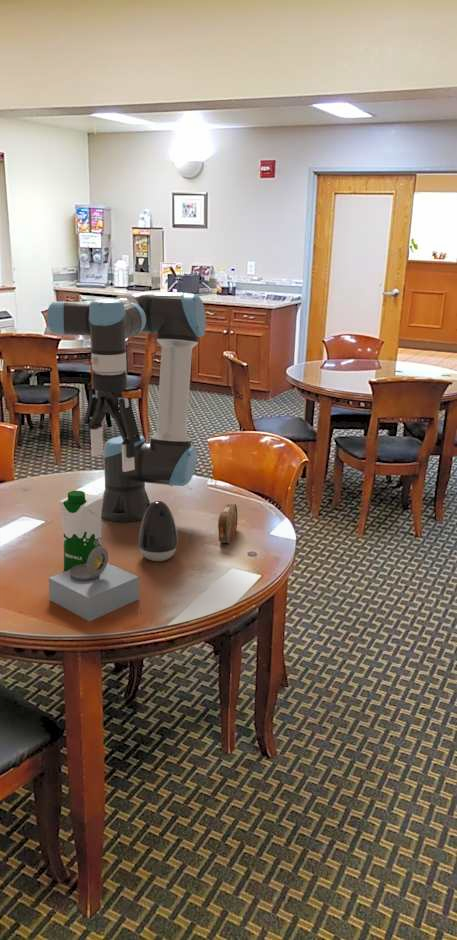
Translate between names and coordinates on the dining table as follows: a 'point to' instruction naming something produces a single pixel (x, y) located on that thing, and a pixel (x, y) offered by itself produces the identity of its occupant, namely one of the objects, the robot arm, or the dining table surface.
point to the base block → (94, 592)
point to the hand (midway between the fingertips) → (112, 462)
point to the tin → (227, 523)
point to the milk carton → (80, 526)
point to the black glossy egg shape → (158, 533)
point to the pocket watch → (91, 564)
